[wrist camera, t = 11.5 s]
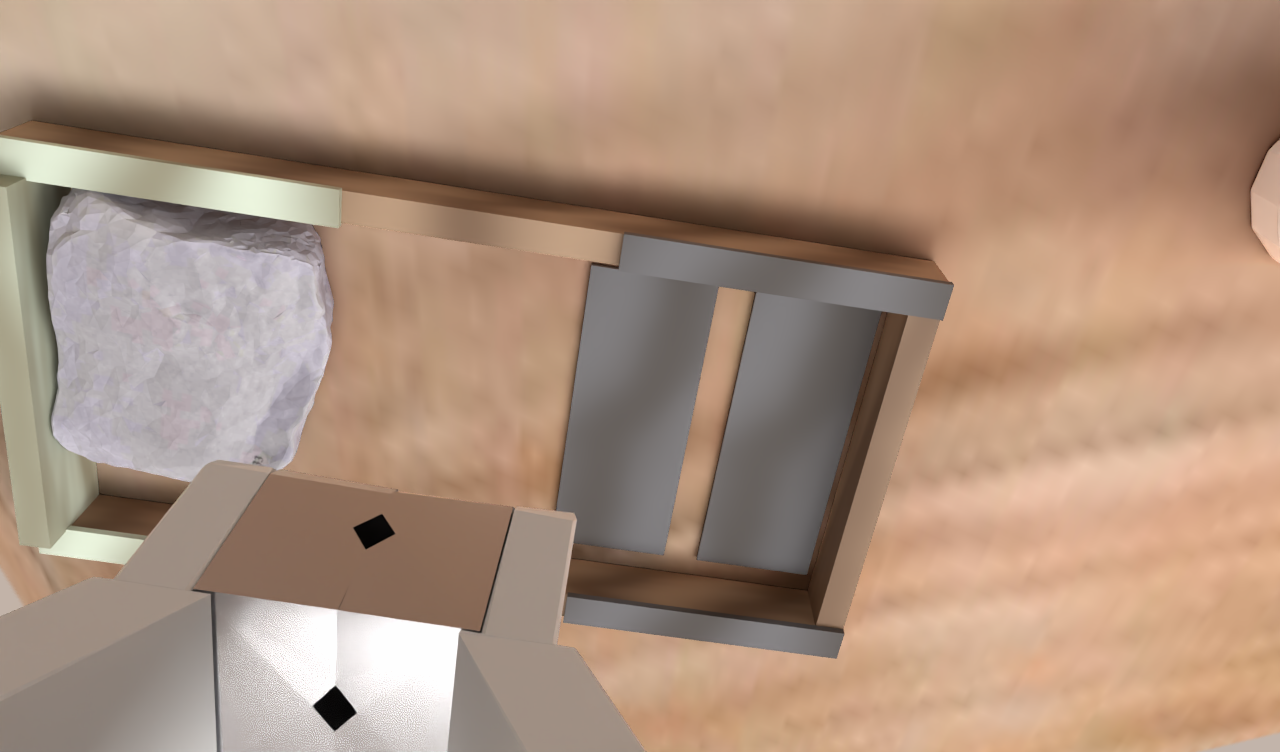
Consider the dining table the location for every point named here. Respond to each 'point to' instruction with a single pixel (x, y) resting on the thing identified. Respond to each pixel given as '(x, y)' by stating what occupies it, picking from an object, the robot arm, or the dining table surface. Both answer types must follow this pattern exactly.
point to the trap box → (603, 390)
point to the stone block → (184, 333)
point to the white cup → (1268, 202)
